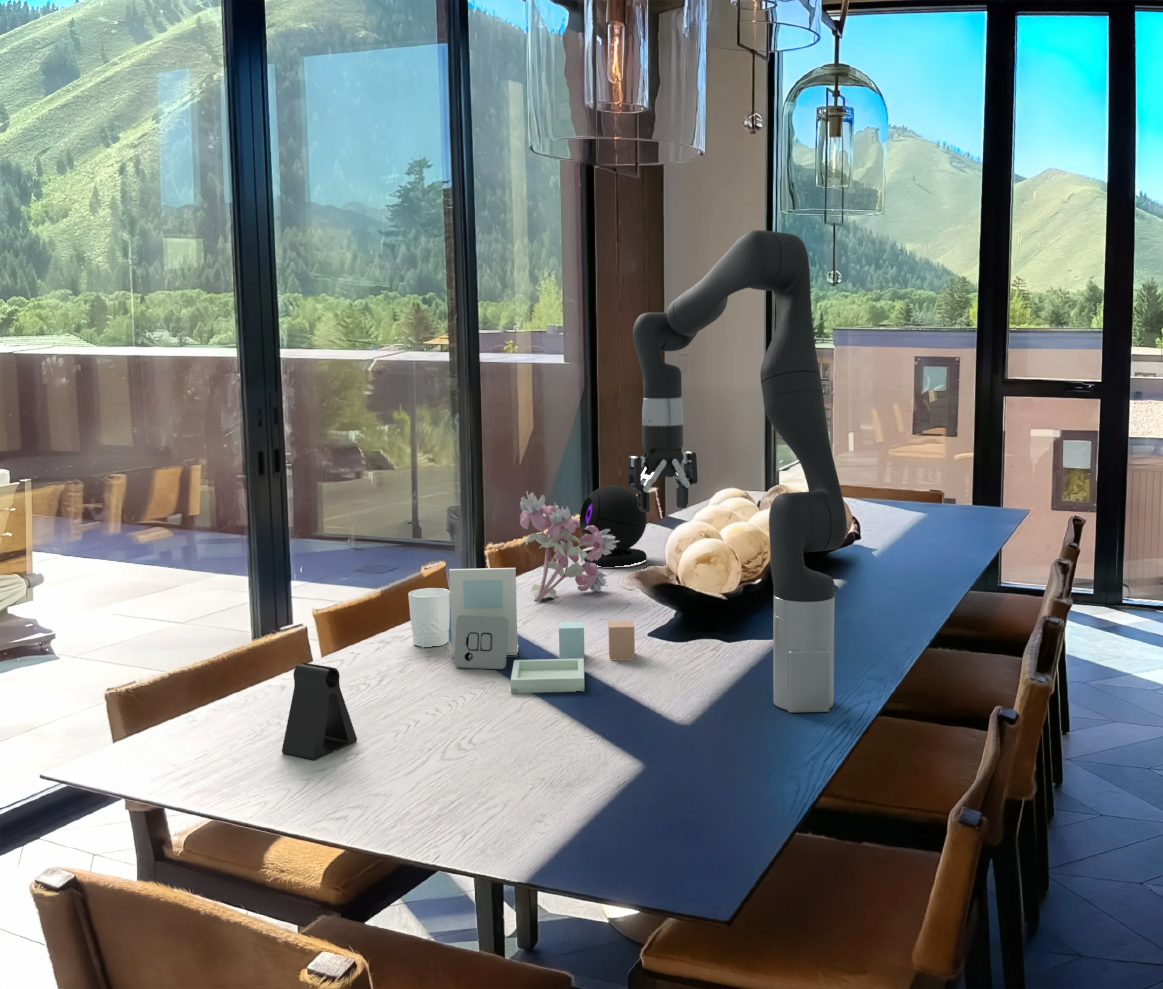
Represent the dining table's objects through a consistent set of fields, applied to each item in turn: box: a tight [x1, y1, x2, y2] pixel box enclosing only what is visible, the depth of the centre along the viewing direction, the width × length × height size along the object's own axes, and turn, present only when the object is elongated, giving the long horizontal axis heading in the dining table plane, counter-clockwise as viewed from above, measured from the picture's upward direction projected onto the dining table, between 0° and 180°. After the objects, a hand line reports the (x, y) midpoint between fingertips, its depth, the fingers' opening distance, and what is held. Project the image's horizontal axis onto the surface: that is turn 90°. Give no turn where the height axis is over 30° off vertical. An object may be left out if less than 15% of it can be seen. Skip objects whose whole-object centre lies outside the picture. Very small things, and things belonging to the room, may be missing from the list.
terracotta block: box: [607, 620, 636, 660], centre depth 210 cm, size 4×4×6 cm
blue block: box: [558, 621, 586, 660], centre depth 209 cm, size 4×4×6 cm
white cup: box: [407, 587, 451, 648], centre depth 221 cm, size 8×8×10 cm
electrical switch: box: [453, 615, 508, 670], centre depth 205 cm, size 9×5×9 cm, turn 78°
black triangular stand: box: [281, 662, 358, 761], centre depth 164 cm, size 9×6×12 cm, turn 149°
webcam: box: [579, 484, 648, 567], centre depth 299 cm, size 17×17×20 cm
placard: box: [448, 567, 519, 658], centre depth 213 cm, size 5×12×16 cm, turn 91°
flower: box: [519, 490, 619, 603], centre depth 260 cm, size 20×22×25 cm
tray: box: [510, 658, 585, 694], centre depth 195 cm, size 12×12×2 cm
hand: (663, 509), depth 215 cm, fingers open, 8 cm apart
